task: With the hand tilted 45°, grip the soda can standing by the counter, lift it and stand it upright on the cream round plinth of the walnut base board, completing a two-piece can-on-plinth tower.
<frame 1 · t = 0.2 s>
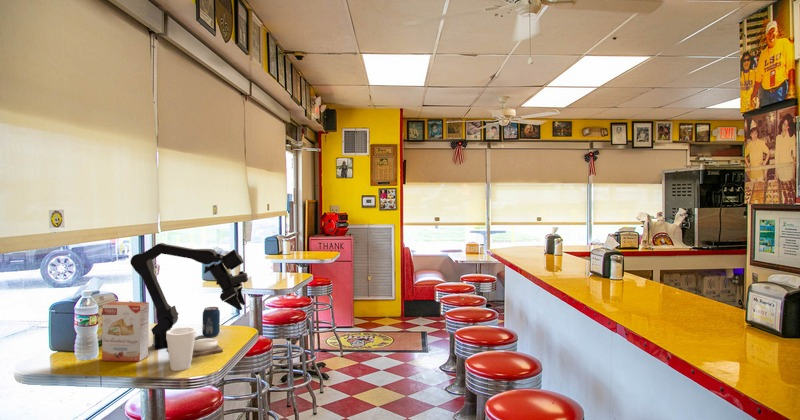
hand: (242, 307, 185), 15 cm above the table, tool tilted 35°, fingers open, 9 cm apart
soda can: (210, 335, 195), on the table
foam cup: (180, 368, 157), on the table
plinth board: (195, 350, 175), on the table
cracker box: (125, 359, 164), on the table
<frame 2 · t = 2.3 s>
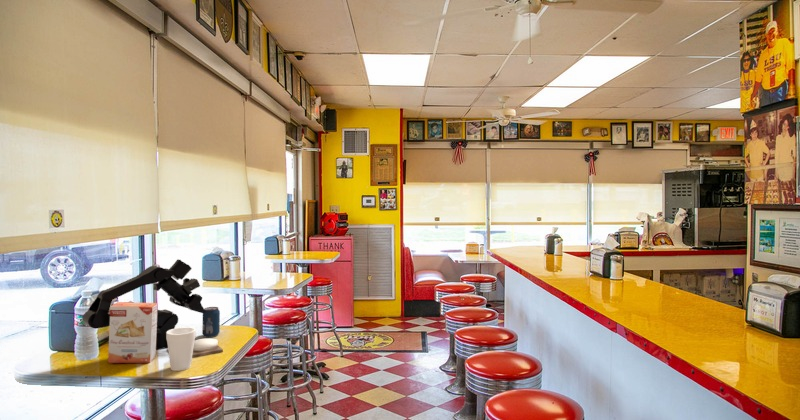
hand: (199, 310, 190), 12 cm above the table, tool tilted 45°, fingers open, 9 cm apart
cracker box: (132, 360, 161), on the table
everything else where it was.
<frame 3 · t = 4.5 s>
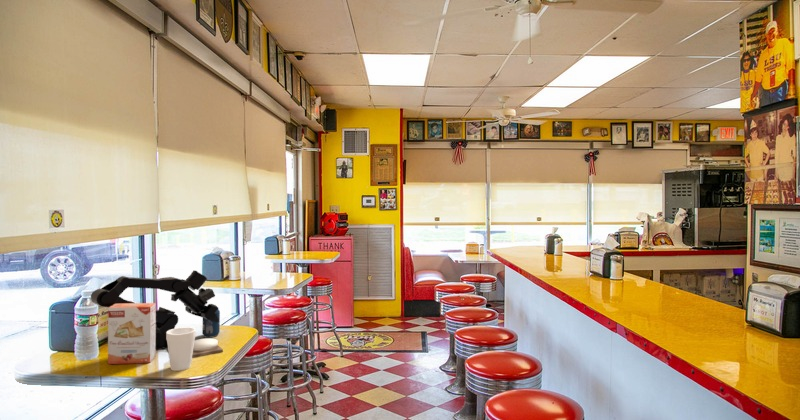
hand: (214, 319, 196), 7 cm above the table, tool tilted 45°, fingers closed on soda can, 7 cm apart
soda can: (210, 335, 195), on the table, touching gripper
cracker box: (132, 361, 161), on the table, touching arm
everything else where it was.
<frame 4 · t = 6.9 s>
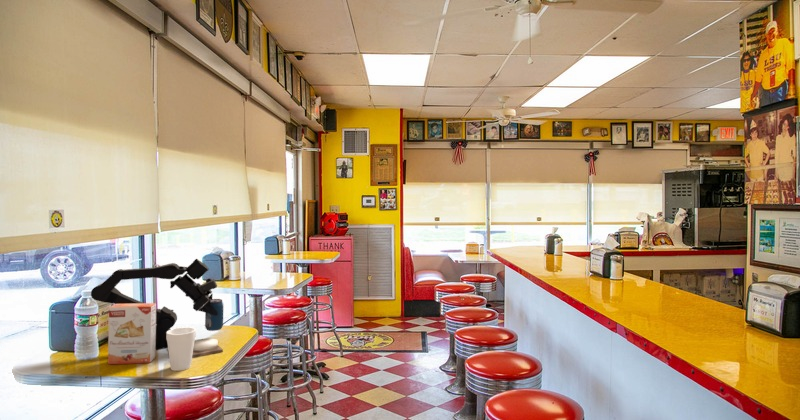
hand: (217, 312, 185), 12 cm above the table, tool tilted 45°, fingers closed on soda can, 7 cm apart
soda can: (214, 329, 185), point 5 cm above the table, touching gripper
cracker box: (132, 362, 161), on the table
everything else where it was.
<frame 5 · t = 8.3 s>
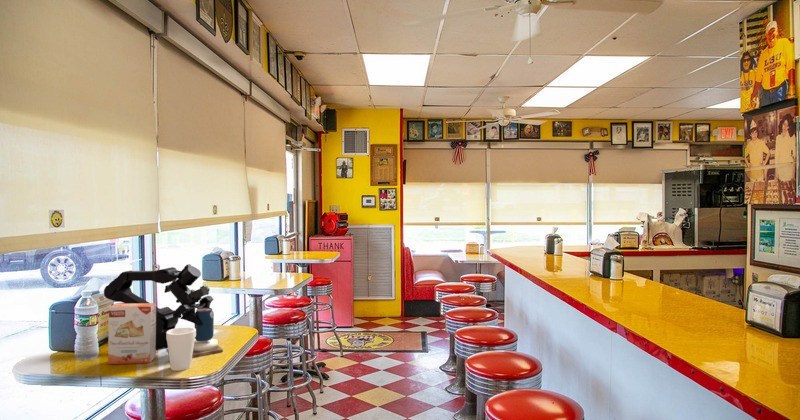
hand: (207, 322, 175), 11 cm above the table, tool tilted 45°, fingers closed on soda can, 7 cm apart
soda can: (203, 339, 176), point 4 cm above the table, touching gripper
everything else where it was.
when the fingers open (11 cm above the table, at t = 8.9 s): soda can drops 1 cm, resting on plinth board.
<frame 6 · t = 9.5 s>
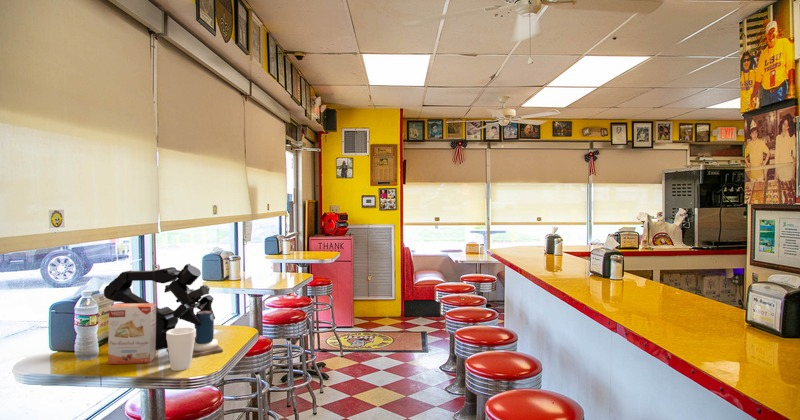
hand: (207, 322, 175), 11 cm above the table, tool tilted 45°, fingers open, 9 cm apart
soda can: (204, 342, 176), point 3 cm above the table, touching plinth board
everything else where it was.
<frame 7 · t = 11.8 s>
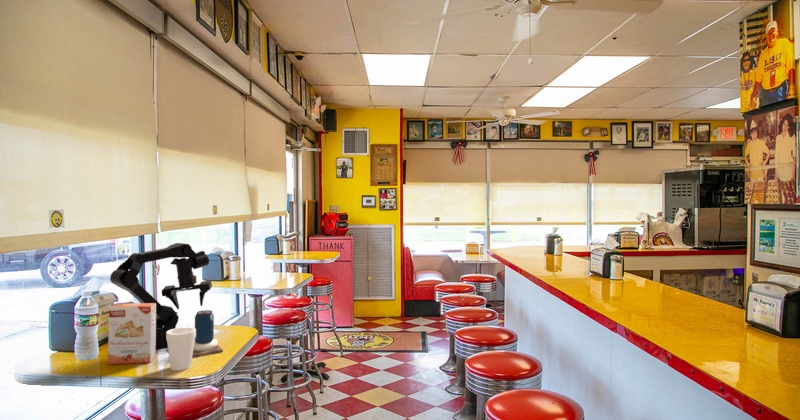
hand: (190, 307, 189), 13 cm above the table, tool pointing down, fingers open, 9 cm apart
nothing on the table moved.
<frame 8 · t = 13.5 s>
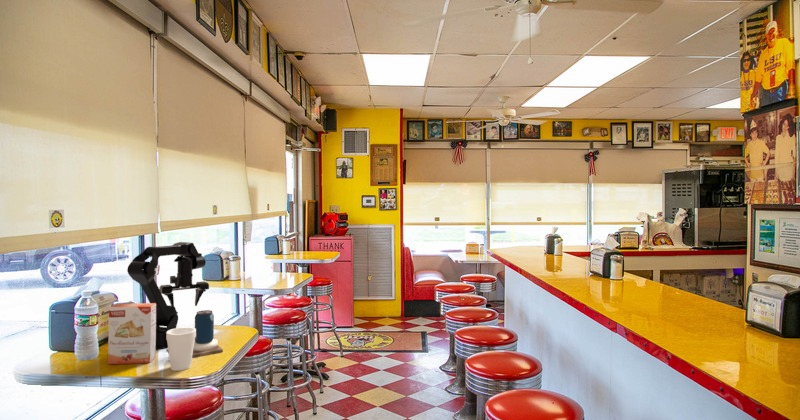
hand: (184, 307, 191), 13 cm above the table, tool pointing down, fingers open, 9 cm apart
nothing on the table moved.
at the end: soda can 0.1 cm from the target spot, point 2.8 cm above the table; soda can tilted 0°; the gripper is holding nothing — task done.
